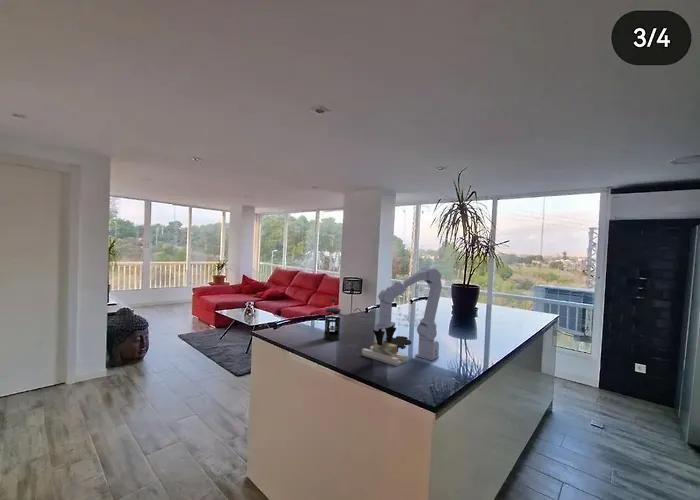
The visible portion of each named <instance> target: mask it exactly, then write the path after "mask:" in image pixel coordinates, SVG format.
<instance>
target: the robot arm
mask: <svg viewBox="0 0 700 500" xmlns="http://www.w3.org/2000/svg"><path fill="white" fill-rule="evenodd" d="M441 277H442V274H441V273H440V271H439V270H438V269H436V268H429V267H422V268H421V269H418V270H417V271H416V272H415V273H413V274H412V275H410V276H409V277H408V278H406V279H404V280H403V281H395V282H394V283H393V285H391V286H389V287H386V289H382V290H381V291H380V292H379V293H378V296H377V297H378V300H379V320H378V322H377V324H376V325H374V327H373V329H372V330H373V331H372V332H373V334H374V336H375V339H376V340H377V344H378V345H380V346H381V345H382V341H384V335H386V337H385V340H386V339H387V340H386V341H387V342H391V341H392V337H393V338H394V334H395V332H396V330H397V327H396V322H393V321H392V311H393V310H392V308H393V302H394V301H395V299H396V298H397V297H398V296H401V295H402V294H404V293H405V292H406V291H407V288H409V287H411V286H413V284H416V283H417V282H420V281H424V282H426V283H427V284H426V285H428V287H429V292H428V294H427V295H428V296H427V299H426V305H425V310H424V314H423V318H422V319H421V320H420V321H419V324H418V325H417V327H416V332H417V334H418V351H417V353H416V354H414V356H415V357H418V358H422V359H425V360H428V361H434V360H436V359H438V358H440V356H439V350H440V343H439V341H438V340H435V339H436V337H437V324H436V321H435V319H436V316H437V311H438V306H439V303H440V302H439V301H440V296H441V293H442V288H443V285H442V281H441V280H442V279H441ZM384 329H385V330H384Z"/></svg>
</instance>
